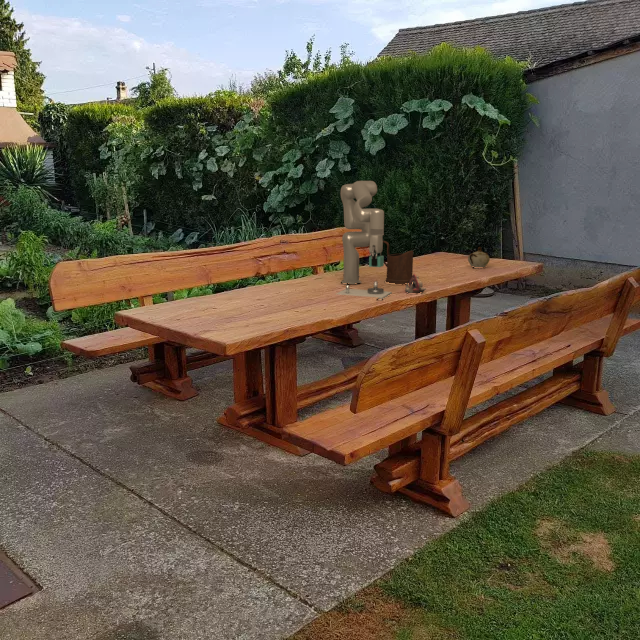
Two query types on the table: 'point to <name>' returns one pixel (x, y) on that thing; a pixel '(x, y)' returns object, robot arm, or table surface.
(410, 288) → the brake caliper
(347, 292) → the stand rod
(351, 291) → the board
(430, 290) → the table surface
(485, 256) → the sugar bowl
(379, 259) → the collar
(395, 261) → the brown pitcher
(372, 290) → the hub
